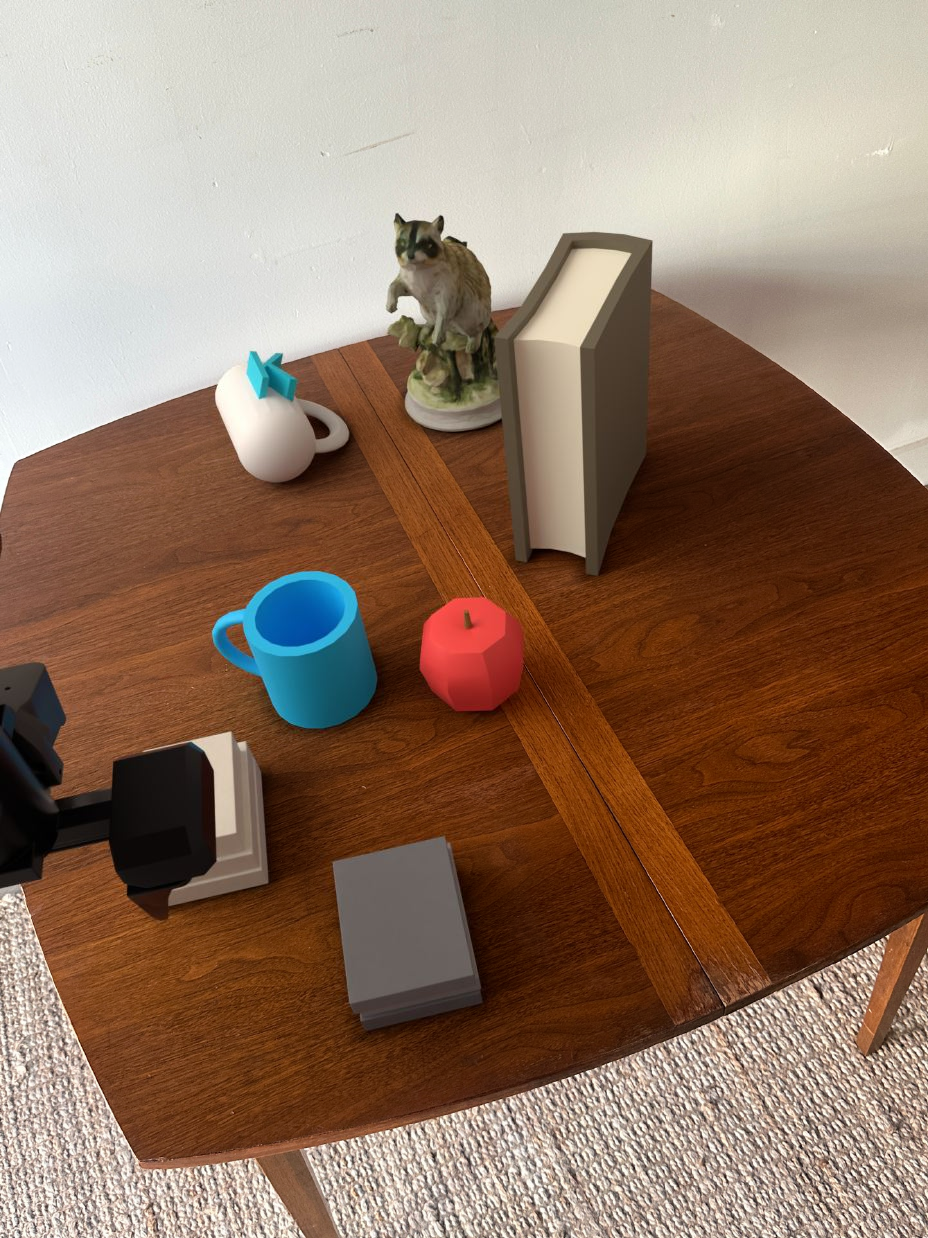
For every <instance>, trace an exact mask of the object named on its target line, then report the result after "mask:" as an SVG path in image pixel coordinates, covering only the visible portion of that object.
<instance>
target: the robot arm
mask: <svg viewBox="0 0 928 1238" xmlns="http://www.w3.org/2000/svg"><path fill="white" fill-rule="evenodd" d="M2 550H3V537H2V534H1V533H0V558H2V557H1V556H2ZM66 722H67V716H66V714H65V711H64V708H63V705H62V703H61V701H60V699H59V697H58V694H57V692H56V689H55V686H54V684H53V682H52V679H51V677H50V674H49V672H48V670H47V666H46V665H45V664H44V663H43V662H41V661H40V662H39V661H32V662H26V663H22V664H17V665H13V666H8V667H3V668H0V890H1V889H5V888H10V887H14V886H18V885H23V884H27V883H31V882H36V881H41V880H42V879H43V871H44V870H43V869H44V862H45V858H46V857H48V856H49V855H51V854H56V853H60V852H64V851H69V850H73V849H77V848H83V847H87V846H91V845H96V844H100V843H104V842H108V847H109V850H110V854H111V859H112V862H113V868H114V872H115V873H116V875H117V876H118V878H119V880H121V881H122V883H123V884H124V885H126V897H127V898H128V899H129V900H130V901H131V902H133V903H134V904H135V905H136V906H137V907H138V908H140V909H141V910H142V911H144V912H145V913H146V914H147V915H148V916H150V917H151V918H152V919H155V920H158V921H160V922H162V921H167V920H168V919H169V913H170V912H169V907H170V906H169V899H168V898H169V896H170V893H171V891H172V890H173V889H176V888H181V887H184V886H186V885H187V884H188V883H189V882H190V881H191V880H192V878H194V877H199V876H203V875H205V874H206V873H207V872H208V871H209V870H210V868H211V867H212V866H213V865H214V864H215V863H216V862H217V855H216V821H215V787H214V769H213V767H212V765H211V763H210V761H209V759H208V757H207V755H206V753H205V751H204V750H202V749H201V748H199V747H198V746H197V745H195V744H194V743H192V742H186V741H185V742H186V743H182V742H181V743H182V744H177V743H176V744H177V745H173V744H172V745H173V746H168V745H167V746H168V747H164V746H163V747H164V748H159V747H158V748H159V749H155V748H154V749H155V750H150V749H149V750H150V751H146V750H145V751H146V752H143V751H142V752H137V753H133V754H128V755H124V756H123V755H122V756H120V757H119V758H117V759H115V760H113V761H112V774H111V775H112V776H111V777H112V778H111V786H109V787H105V788H101V789H96V790H92V791H88V792H83V793H79V794H74V795H70V796H64V797H60V798H56V799H55V798H54V797H53V795H52V794H51V793H52V787H53V788H54V787H57V786H61V785H62V784H63V777H64V776H63V775H64V768H65V767H64V766H65V764H64V762H63V760H62V759H61V757H60V756H59V755H58V753H57V752H56V750H55V748H54V746H55V743H56V740H57V738H58V736H59V733H60V730H61V728H62V727H64V726H65V725H66Z"/></svg>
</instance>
